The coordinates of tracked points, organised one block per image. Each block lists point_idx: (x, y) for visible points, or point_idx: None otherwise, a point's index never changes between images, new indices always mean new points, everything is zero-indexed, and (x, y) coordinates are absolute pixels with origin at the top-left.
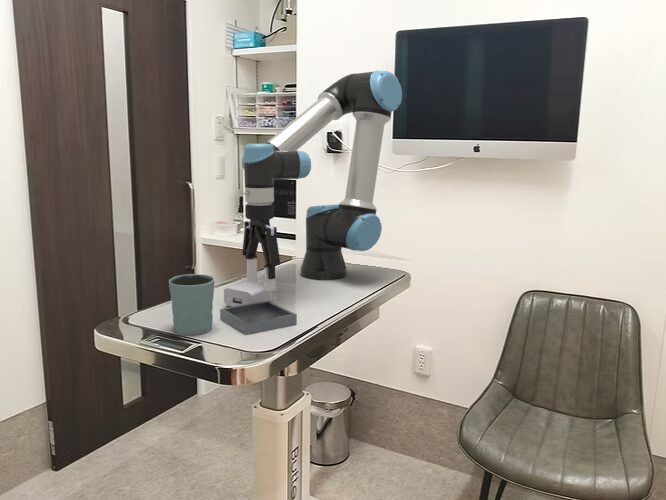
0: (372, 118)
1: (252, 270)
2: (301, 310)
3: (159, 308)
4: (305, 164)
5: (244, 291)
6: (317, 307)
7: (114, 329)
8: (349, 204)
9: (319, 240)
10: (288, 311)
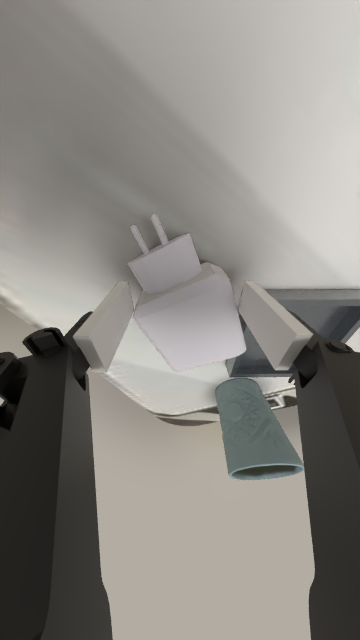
0: None
1: (119, 320)
2: (316, 217)
3: (138, 394)
4: None
5: (228, 358)
6: (353, 132)
7: (187, 421)
8: None
9: None
10: (352, 303)
